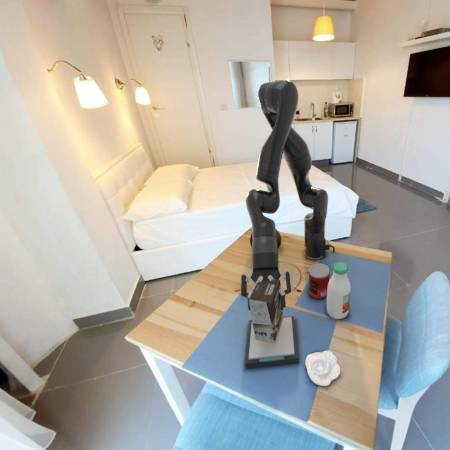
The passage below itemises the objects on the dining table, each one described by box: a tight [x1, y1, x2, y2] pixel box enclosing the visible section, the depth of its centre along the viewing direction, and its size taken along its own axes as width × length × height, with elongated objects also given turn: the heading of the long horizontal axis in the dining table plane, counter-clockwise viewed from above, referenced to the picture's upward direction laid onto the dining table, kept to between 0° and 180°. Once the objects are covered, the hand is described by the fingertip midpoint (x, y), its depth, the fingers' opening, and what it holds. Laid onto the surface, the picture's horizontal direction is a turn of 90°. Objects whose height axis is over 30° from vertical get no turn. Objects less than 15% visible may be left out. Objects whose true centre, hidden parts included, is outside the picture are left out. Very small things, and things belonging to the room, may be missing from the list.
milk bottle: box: [326, 261, 352, 320], centre depth 84 cm, size 8×8×20 cm
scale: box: [244, 315, 299, 370], centre depth 77 cm, size 15×15×3 cm
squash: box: [249, 229, 282, 250], centre depth 121 cm, size 14×15×15 cm
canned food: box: [308, 263, 331, 300], centre depth 94 cm, size 8×8×11 cm
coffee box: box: [249, 279, 284, 343], centre depth 71 cm, size 9×6×16 cm
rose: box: [304, 350, 341, 387], centre depth 69 cm, size 10×4×10 cm
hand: (267, 311), depth 70 cm, fingers closed on coffee box, 8 cm apart
